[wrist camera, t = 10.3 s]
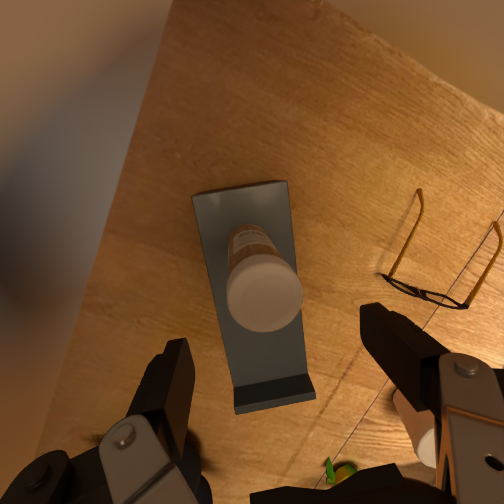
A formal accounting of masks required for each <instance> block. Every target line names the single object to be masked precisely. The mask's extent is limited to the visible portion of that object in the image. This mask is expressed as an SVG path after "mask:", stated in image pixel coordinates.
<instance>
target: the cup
mask: <svg viewBox="0 0 504 504" xmlns="http://www.w3.org/2000/svg"><path fill="white" fill-rule="evenodd" d="M392 399H393V403H394V405H395V407H396V409H397V411H398V413H399V415H400V417H401V419H402V422H403V424H404V426H405V428H406V430H407V432H408V435H409V437H410V439H411V441H412V445H413V448H414V452H415V454H416V455H417V457H418V459H419V460H420V461H421V462H422V463H423V464H424V465H426V466H430V467H433V468H436V457H435V440H434V415H433V413H432V412H431V411H430V410H427V411H422V412H416V411H415V409H414V408H413V407H412V406H411V404H410V403H409V402H408V401H407V399H406V398H405V397H404V396H403V394H402V393H401V392H400V391H399V389H398V388H397V389H396V390H395V392H394V393H393V397H392Z"/></svg>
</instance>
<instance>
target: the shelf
mask: <svg viewBox="0 0 504 504" xmlns="http://www.w3.org/2000/svg"><path fill="white" fill-rule="evenodd" d="M191 198H192V203H193V207H194V212H195V216H196V221H197V225H198V230H199V234H200V239H201V243H202V248H203V252H204V257H205V261H206V266H207V270H208V275H209V279H210V284H211V288H212V293H213V297H214V302H215V306H216V311H217V315H218V320H219V324H220V329H221V333H222V338H223V342H224V347H225V351H226V356H227V360H228V365H229V369H230V374H231V378H232V383H233V387H234V410H235V414H236V415H238V414H243V413H248V412H253V411H258V410H263V409H268V408H273V407H278V406H283V405H288V404H294V403H299V402H304V401H309V400H314V399H316V393H315V389H314V387H313V384H312V382H311V380H310V377H309V375H308V370H307V360H306V351H305V342H304V332H303V323H302V314H301V308H300V310H299V312H298V314H297V315H296V317H295V318H294V319H293V320H292V321H291V322H290V323H289V324H287V325H286V326H284V327H282V328H280V329H278V330H275V331H271V332H255V331H251V330H248V329H246V328H244V327H242V326H241V325H240V324H239V323H237V322H236V321H235V319H234V318H233V317H232V315H231V313H230V311H229V309H228V304H227V293H226V288H227V281H228V278H229V265H228V238H229V235H230V234H231V232H232V231H233V230H234V229H235V228H237V227H238V226H240V225H243V224H254V225H258V226H259V227H261V228H262V229H263V230H264V231H265V232H266V234H267V236H268V238H269V239H270V240H271V242H272V243H273V244H274V246H275V247H276V249H277V250H278V252H279V253H280V255H281V256H282V259H283V260H284V261H285V262H287V263H288V264H289V265H290V266H291V268H292V269H293V271H294V272H295V273H296V275H297V267H296V258H295V249H294V239H293V230H292V221H291V212H290V202H289V193H288V184H287V181H285V180H271V181H265V182H259V183H253V184H247V185H241V186H235V187H228V188H222V189H216V190H210V191H204V192H200V193H197V194H195V195H193V196H191Z"/></svg>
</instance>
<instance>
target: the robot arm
mask: <svg viewBox="0 0 504 504" xmlns="http://www.w3.org/2000/svg"><path fill="white" fill-rule="evenodd" d="M360 336H361V340H362V343H363V345H364V347H365V348H366V350H367V351H368V352H369V353H370V354H371V356H372V357H373V358H374V359H375V361H376V362H377V363H378V364H379V366H380V367H381V368H382V369H383V371H384V372H385V373H386V374H387V376H388V377H389V378H390V379H391V381H392V382H393V383H394V384H395V386H396V387H397V388H398V389H399V391H400V392H401V393H402V394H403V396H404V397H405V398H406V399H407V401H408V402H409V403H410V404H411V406H412V407H413V408H414V409H415V411H416V412H422V411H427V410H430V411H431V412H432V413H433V415H434V440H435V457H436V487H435V486H433V485H430V484H428V483H425V482H422V481H420V480H416V479H412V478H407V477H403V476H402V475H401V473H400V471H399V469H398V468H397V466H396V464H395V463H391V464H387V465H382V466H377V467H373V468H368V469H363V470H359V471H358V472H356V473H354V474H353V475H351V476H349V477H348V478H346V479H345V480H343V481H341V482H340V483H338V484H336V485H335V486H333V487H331V488H330V489H327V490H319V489H309V488H300V487H290V486H284V487H279V488H274V489H270V490H265V491H260V492H256V493H251V494H250V504H504V369H495V368H491V367H490V366H489V365H487V364H486V363H485V362H483V361H481V360H479V359H477V358H475V357H473V356H470V355H466V354H462V353H452V352H450V351H449V350H448V349H447V348H445V347H444V346H443V345H441V344H440V343H439V342H438V341H436V340H435V339H434V338H433V337H431V336H430V335H429V334H427V333H426V332H425V331H423V330H422V329H421V328H420V327H418V326H417V325H415V323H413V322H412V321H411V320H410V319H408V318H407V317H406V316H404V315H401V314H399V313H397V312H394V311H389V310H388V309H386V308H385V307H384V306H383V305H382V304H380V303H379V302H376V303H370V304H365V305H361V306H360ZM194 383H195V367H194V363H193V359H192V356H191V352H190V348H189V345H188V341H187V339H186V338H180V339H174V340H169V341H168V342H167V344H166V347H165V349H164V352H163V354H158V355H156V356H155V357H154V358H153V360H152V361H151V362H150V363H149V364H148V366H147V368H146V371H145V373H144V376H143V378H142V380H141V382H140V385H139V387H138V389H137V391H136V394H135V396H134V398H133V401H132V403H131V405H130V407H129V410H128V412H127V414H126V417H125V418H124V419H122V420H120V421H119V422H117V423H116V424H115V425H113V426H112V427H111V428H110V429H109V430H108V431H107V433H106V434H105V435H104V437H103V439H102V441H101V443H100V445H98V446H96V447H94V448H92V449H90V450H88V451H86V452H84V453H82V454H80V455H78V456H76V457H74V458H72V459H69V457H68V455H67V453H66V452H65V451H62V450H55V451H51V452H48V453H46V454H44V455H42V456H40V457H39V458H37V459H36V460H34V461H33V462H32V463H30V464H29V465H28V466H27V467H25V468H24V469H23V470H22V471H21V472H20V473H19V474H18V475H17V477H16V478H15V479H14V480H13V482H12V483H11V484H10V486H9V487H8V489H7V490H6V492H5V494H4V495H3V496H2V498H1V499H0V504H199V503H198V501H197V500H196V498H195V496H194V494H193V493H192V491H191V489H190V488H189V486H188V484H187V482H186V481H185V479H184V477H183V476H182V474H181V472H180V470H179V469H178V467H177V465H176V464H175V463H174V461H178V460H182V454H183V448H184V443H185V437H186V431H187V425H188V419H189V413H190V407H191V401H192V395H193V389H194Z"/></svg>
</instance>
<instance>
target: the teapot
mask: <svg viewBox="0 0 504 504" xmlns="http://www.w3.org/2000/svg"><path fill="white" fill-rule="evenodd" d="M174 463H175V464H176V465H177V467H178V469H179V470H180V472H181V474H182V476H183V477H184V479H185V481H186V482H187V484H188V486H189V488H190V489H191V491H192V493H193V494H194V496H195V498H196V500H197V501H198V503H199V504H213V500H212V493H211V488H210V485H209V483H208V481H207V480H206V478H205V477H204V476H202V475H201V459H200V456H199V453H198V451H197V450H196V448H195V447H194V445H193V444H192V443H191V442H190V441H189V440H188V439H186V438H185V443H184V448H183V454H182V460H178V461H174Z"/></svg>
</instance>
